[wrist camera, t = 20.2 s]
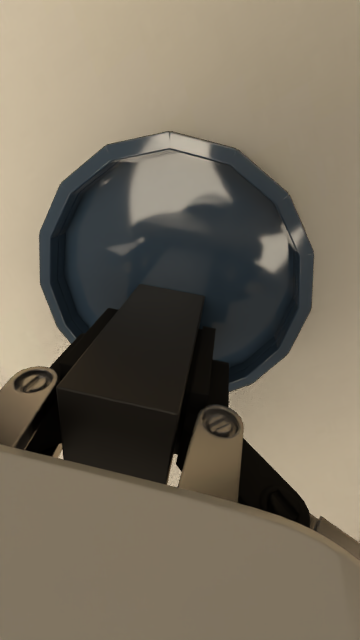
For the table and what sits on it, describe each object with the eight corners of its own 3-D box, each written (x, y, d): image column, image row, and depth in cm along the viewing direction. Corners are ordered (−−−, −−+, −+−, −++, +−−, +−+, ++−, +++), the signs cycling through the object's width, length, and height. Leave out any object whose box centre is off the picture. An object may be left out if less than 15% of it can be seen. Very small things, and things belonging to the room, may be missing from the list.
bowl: (136, 64, 10) (118, 45, 8) (363, 261, 11) (384, 276, 10) (29, 295, 15) (5, 310, 13) (197, 407, 17) (193, 432, 15)
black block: (205, 295, 13) (179, 414, 7) (191, 367, 15) (161, 510, 8) (139, 283, 13) (54, 386, 7) (134, 355, 15) (65, 486, 9)
